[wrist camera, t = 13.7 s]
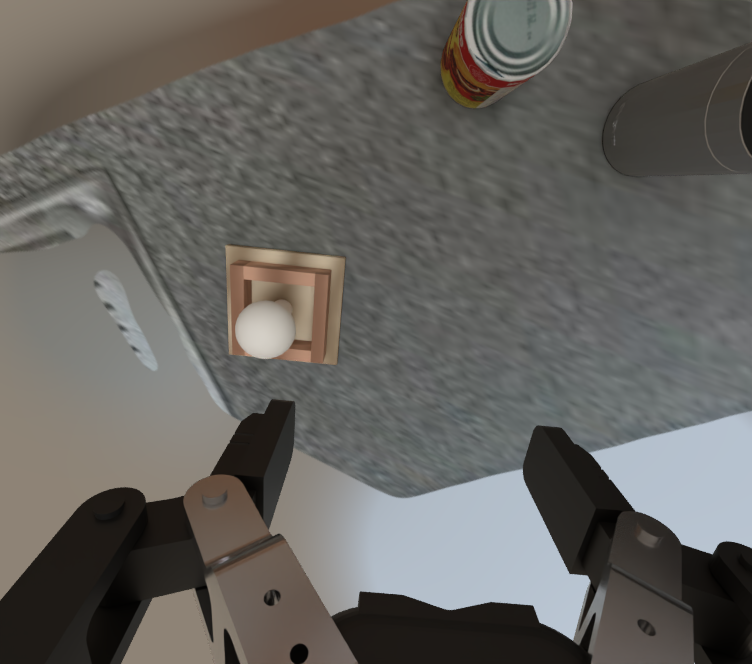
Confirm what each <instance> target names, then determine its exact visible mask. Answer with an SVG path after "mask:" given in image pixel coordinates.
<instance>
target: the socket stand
mask: <svg viewBox="0 0 752 664" xmlns="http://www.w3.org/2000/svg"><path fill="white" fill-rule="evenodd" d="M345 260H346V257H341V256H332V255H323V254H313V253H304V252H295V251H286V250H277V249H267V248H258V247H249V246H240V245H231V244H228V245H226V270H227V303H228V335H229V354H232V355H242V356H252V355H250V354H248V353H247V352H245V351H244V350H243V349H242V348H241V346H240V345H239V343H238V341H237V339H236V334H235V325H236V321H237V318H238V316H239V314H240V313H241V312H242V310H243V309H245V308H246V307H247V306H248V305H250V304H252V303H254V302H258V301H264V300H268V301H274V302H275V301H277V300H280V299H283V300H286V301H288V302H289V303H290V304H291V306H292V309H293V310H292V314H291V315H292V316H293V318H294V321H295V326H296V335H295V339H294V341H293V343H292V345H291V346H290V348H289V349H288V350H287V351H286V352H284V353H283V354H282V355H280V356H277V357H274V358H272V359H282V360H292V361H302V362H312V363H322V364H332V365H337V361H338V348H339V335H340V323H341V310H342V298H343V285H344V272H345ZM252 357H254V356H252Z"/></svg>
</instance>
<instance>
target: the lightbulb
mask: <svg viewBox="0 0 752 664" xmlns="http://www.w3.org/2000/svg"><path fill="white" fill-rule="evenodd" d="M292 310H293V309H292V306H291V304H290V303H289V302H288V301H286V300H283V299H280V300H277V301H275V302H274V301H268V300H264V301H258V302H254V303H252V304H250V305H248V306H247V307H246V308H245V309H243V310H242V312H241V313H240V314H239V316H238V318H237V321H236V325H235V334H236V339H237V341H238V343H239V345H240V346H241V348H242V349H243V350H244V351H245V352H247V353H248V354H250V355H252V356H254V357H257V358H261V359H270V358H274V357H277V356H280V355H282V354H283V353H284V352H286V351H287V350H288V349H289V348H290V346H291V345H292V343H293V341H294V339H295V335H296V326H295V321H294V318H293V316H292V315H291V314H292Z"/></svg>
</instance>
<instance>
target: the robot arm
mask: <svg viewBox="0 0 752 664" xmlns="http://www.w3.org/2000/svg"><path fill="white" fill-rule="evenodd" d="M603 147H604V152H605V155H606V157H607V159H608V161H609V163H610V164H611V165H612V166H613V168H615V169H616V170H617V171H619V172H620V173H622V174H625V175H628V176H636V177H641V176H684V175H722V174H752V42H750V43H748V44H745V45H742V46H740V47H737V48H734V49H732V50H729V51H727V52H724V53H721V54H719V55H716V56H713V57H711V58H708V59H705V60H703V61H700V62H698V63H695V64H692V65H690V66H687V67H684V68H682V69H679V70H676V71H674V72H671V73H668V74H666V75H663V76H660V77H658V78H655V79H652V80H650V81H647V82H645V83H642V84H639V85H638V86H636V87H634V88H632V89H631V90H629V91H628V92H627V93H626V94H625V95H623V96H622V97H621V98H620V99H619V101H618V102H617V103H616V104H615V105H614V107H613V109H612V110H611V112H610V114H609V116H608V118H607V121H606V124H605V128H604V133H603ZM294 426H295V402H294V401H285V400H275V399H272V400H271V401H270V403H269V405H268V407H267V409H266V411H265V413H264V414H258V413H252V414H251V415H250V416H248V417H247V418H245V419H244V420H243V421H241V423H240V425H239V426H238V428H237V430H236V432H235V435H233V437H232V439H231V440H230V443H229V444H228V445H227V447H226V449H225V451H224V452H223V454H222V456H221V457H220V459H219V461H218V463H217V465H216V466H215V468H214V470H213V471H212V473H211V475H210V476H209V477H206V478H203V479H201V480H199V481H197V482H196V483H194V484H193V485H192V486H191V487H190V488H189V489H188V490H187V492H186V494H185V495H184V496H181V497H178V498H173V499H167V500H161V501H155V502H148V503H146V500H145V496H144V495H143V493H141V492H140V491H139V490H137V489H133V488H126V487H125V488H114V489H110V490H107V491H104V492H101V493H99V494H97V495H95V496H93V497H91V498H90V499H88V500H87V501H85V502H84V503H83V504H82V505H81V506H80V507H79V508H78V509H77V510H76V511H75V512H74V513H73V515H72V516H71V517H70V518H69V519H68V521H67V522H66V523H65V524H64V525H63V527H62V528H61V529H60V530H59V531H58V532H57V534H56V535H55V536H54V537H53V539H52V540H51V541H50V542H49V543H48V544H47V546H46V547H45V548H44V549H43V550H42V552H41V553H40V554H39V555H38V557H37V558H36V559H35V560H34V561H33V562H32V563H31V565H30V566H29V567H28V568H27V569H26V571H25V572H24V573H23V574H22V575H21V577H20V578H19V579H18V580H17V581H16V583H15V584H14V585H13V586H12V587H11V589H10V590H9V591H8V592H7V593H6V594H5V596H4V597H3V598H2V599H1V601H0V664H121V662H122V660H123V658H124V656H125V654H126V652H127V650H128V648H129V646H130V644H131V642H132V640H133V637H134V635H135V633H136V631H137V629H138V627H139V625H140V623H141V621H142V618H143V617H144V615H145V613H146V610H147V608H148V606H149V604H150V602H151V600H152V598H154V597H159V596H163V595H167V594H171V593H175V592H180V591H184V590H189V589H192V591H193V595H194V598H195V601H196V604H197V608H198V611H199V614H200V617H201V621H202V624H203V627H204V631H205V633H206V637H207V640H208V644H209V647H210V650H211V653H212V657H213V662H214V664H694V663H695V664H752V548H750V547H747V546H744V545H742V544H739V543H735V542H722V543H720V544H719V545H718V546H717V548H716V550H715V551H714V553H713V555H712V554H709V553H706V552H703V551H700V550H697V549H694V548H691V547H688V546H685V545H682V544H681V543H680V541H679V539H678V538H677V537H676V535H675V534H674V533H673V532H672V531H671V530H670V529H669V528H668V527H666V526H665V525H664V524H662V523H661V522H659V521H658V520H656V519H654V518H652V517H650V516H648V515H646V514H643V513H639V512H635V510H634V509H633V508H632V506H631V505H630V504H629V502H627V500H626V499H625V497H624V496H623V495H622V493H621V492H620V491H619V490H618V488H617V487H616V486H615V485H614V483H613V482H612V481H611V480H609V477H608V476H607V474H606V473H605V472H604V470H601V467H600V465H599V464H598V463H597V462H596V461H595V459H594V458H593V457H592V455H591V454H589V453H588V452H587V451H585V450H584V449H583V448H581V447H580V446H579V445H577V444H574V443H573V442H572V440H571V439H570V438H569V436H568V435H567V434H566V432H565V431H564V430H563V429H562V428H559V427H549V426H536V427H535V429H534V431H533V434H532V437H531V440H530V444H529V447H528V450H527V454H526V457H525V460H524V464H523V475H524V480H525V483H526V485H527V487H528V489H529V492H530V494H531V495H532V498H533V500H534V502H535V504H536V506H537V508H538V510H539V512H540V514H541V516H542V518H543V520H544V522H545V524H546V526H547V528H548V530H549V533H550V535H551V537H552V539H553V541H554V543H555V545H556V547H557V549H558V551H559V553H560V555H561V557H562V559H563V561H564V563H565V565H566V567H567V569H568V571H569V573H570V574H578V575H588V577H589V579H590V584H589V586H588V588H587V591H586V594H585V598H584V602H583V606H582V609H581V614H580V617H579V621H578V625H577V629H576V632H575V636H574V640H573V641H572V640H571V639H569V638H568V637H566V636H565V635H563V634H561V633H560V632H558V631H556V630H555V629H552V628H550V627H548V626H546V625H544V624H541V623H539V620H538V618H537V615H536V612H535V610H534V607H533V606H531V605H520V604H508V603H495V602H490V603H484V604H480V605H475V606H470V607H465V608H461V609H456V610H445V609H442V608H439V607H436V606H433V605H430V604H428V603H425V602H422V601H419V600H416V599H413V598H410V597H407V596H404V595H397V594H384V593H371V592H360V594H359V601H358V607H356V608H351V609H348V610H345V611H342V612H339V613H337V614H335V615H333V616H332V617H331V616H330V614H329V613H328V611H327V609H326V608H325V606H324V604H323V602H322V601H321V599H320V597H319V596H318V594H317V592H316V590H315V589H314V587H313V585H312V584H311V582H310V580H309V578H308V577H307V575H306V573H305V572H304V570H303V568H302V567H301V565H300V563H299V561H298V560H297V558H296V556H295V554H294V553H293V551H292V549H291V548H290V546H289V544H288V542H287V541H286V539H285V538H284V537H283V536H282V535H281V534H277V535H275V536H272V535H271V534H270V532H269V527H270V524H271V521H272V518H273V515H274V512H275V508H276V505H277V502H278V499H279V496H280V493H281V490H282V487H283V483H284V480H285V477H286V474H287V471H288V467H289V464H290V461H291V458H292V452H293V446H294Z"/></svg>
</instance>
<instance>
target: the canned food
mask: <svg viewBox="0 0 752 664" xmlns="http://www.w3.org/2000/svg"><path fill="white" fill-rule="evenodd" d="M571 19H572V0H467V2H466V4H465V6H464V8H463V10H462V12H461V14H460V16H459V18H458V20H457V22H456V24H455V26H454V28H453V30H452V32H451V34H450V36H449V39H448V41H447V43H446V45H445V48H444V50H443V53H442V58H441V77H442V81H443V84H444V87H445V89H446V91H447V92H448V94H449V96H450V97H451V98H452V99H453V100H454V101H455V102H456V103H458V104H460V105H462V106H464V107H468V108H473V109H476V108H484V107H487V106H489V105H492V104H494V103H495V102H497V101H498V100H500V99H501V98H503V97H504V96H506V95H507V94H508V93H510V92H511V91H513V90H514V89H516V88H517V87H519V86H520V85H522V84H523V83H524V82H526V81H527V80H529V79H530V78H532V77H533V76H535V75H536V74H537V73H539V72H540V71H541V70H543V69H544V68H545V67H547V66H548V65H549V64H550V63H551V61H552V60H553V59H554V58H555V57H556V55H557V54H558V53H559V51H560V49H561V47H562V46H563V44H564V42H565V40H566V38H567V35H568V31H569V27H570V24H571Z"/></svg>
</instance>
